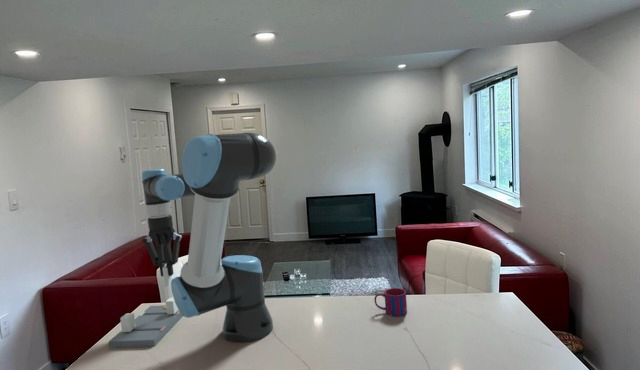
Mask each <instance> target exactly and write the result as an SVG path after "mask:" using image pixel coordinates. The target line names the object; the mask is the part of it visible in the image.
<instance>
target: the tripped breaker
mask: <svg viewBox="0 0 640 370" xmlns="http://www.w3.org/2000/svg"><path fill="white" fill-rule="evenodd" d="M165 305H166V309H167V314H175V313H176V312H177V311H178V308H177V305H176V303H175V300H174V297H173V296H172V297H169V298H168V299H167V300H166V301H165Z"/></svg>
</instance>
